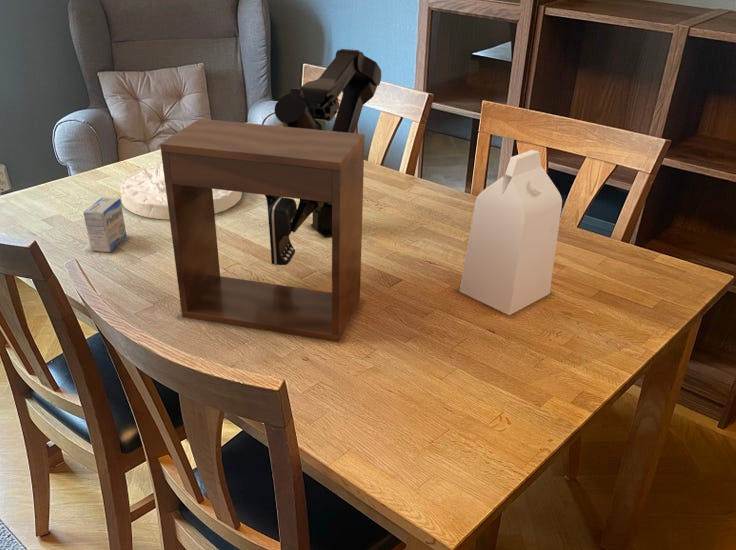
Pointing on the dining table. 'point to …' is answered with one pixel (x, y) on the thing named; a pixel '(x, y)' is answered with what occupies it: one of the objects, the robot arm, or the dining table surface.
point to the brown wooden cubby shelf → (275, 178)
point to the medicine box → (105, 224)
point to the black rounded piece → (281, 230)
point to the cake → (161, 194)
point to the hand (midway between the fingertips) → (281, 229)
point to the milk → (513, 237)
